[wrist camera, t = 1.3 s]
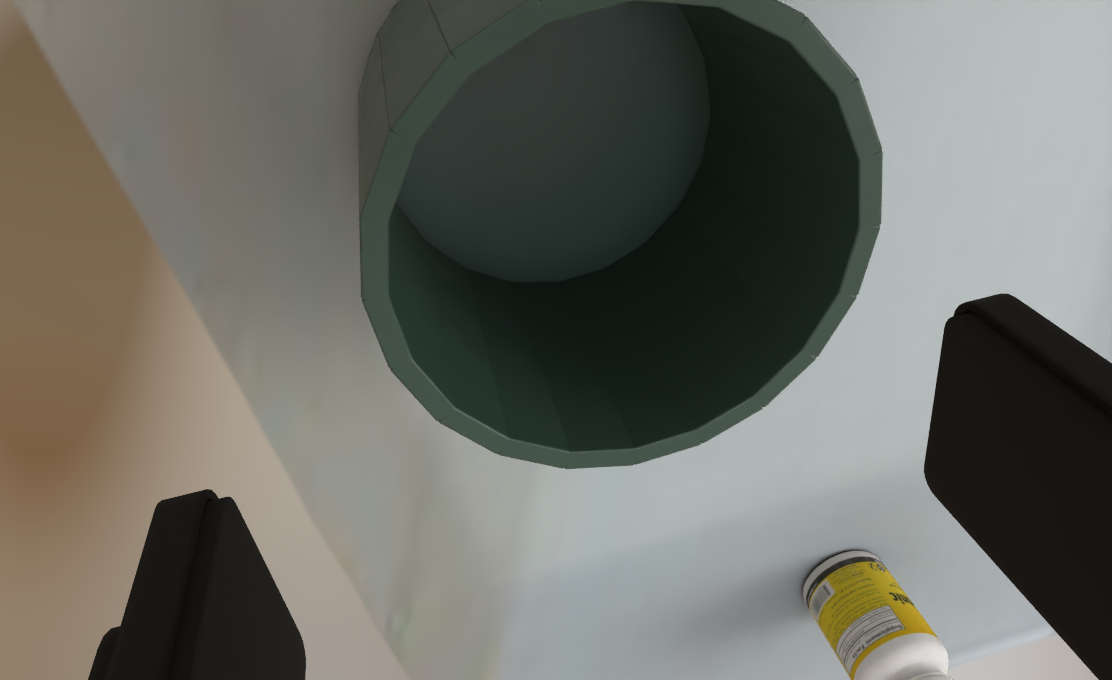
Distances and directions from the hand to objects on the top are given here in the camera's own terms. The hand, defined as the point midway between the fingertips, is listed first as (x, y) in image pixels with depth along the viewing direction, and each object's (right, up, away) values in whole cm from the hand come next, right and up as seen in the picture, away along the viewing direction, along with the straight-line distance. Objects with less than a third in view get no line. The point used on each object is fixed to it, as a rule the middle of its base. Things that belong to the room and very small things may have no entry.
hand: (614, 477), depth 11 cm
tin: (-1, +10, +21) cm, 24 cm away
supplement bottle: (+17, -13, +40) cm, 46 cm away
